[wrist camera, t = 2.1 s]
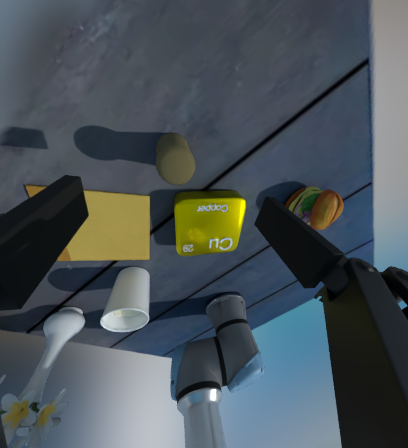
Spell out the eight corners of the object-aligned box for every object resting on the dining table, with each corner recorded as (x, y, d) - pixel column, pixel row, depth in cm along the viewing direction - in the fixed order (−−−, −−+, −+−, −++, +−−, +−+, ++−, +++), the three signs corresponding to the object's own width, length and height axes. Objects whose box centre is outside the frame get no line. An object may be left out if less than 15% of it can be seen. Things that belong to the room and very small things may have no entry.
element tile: (241, 189, 36) (250, 198, 32) (231, 240, 45) (237, 253, 41) (173, 191, 33) (174, 201, 29) (176, 245, 42) (177, 259, 38)
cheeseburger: (275, 197, 39) (315, 212, 31) (308, 174, 40) (355, 182, 32) (282, 226, 45) (316, 245, 37) (310, 205, 46) (350, 219, 38)
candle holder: (128, 291, 48) (118, 336, 38) (106, 272, 42) (88, 319, 33) (158, 280, 48) (156, 322, 38) (141, 259, 42) (133, 303, 32)
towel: (149, 258, 42) (149, 259, 42) (58, 259, 37) (56, 260, 37) (149, 195, 33) (149, 196, 32) (27, 184, 28) (24, 185, 27)
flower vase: (51, 288, 42) (-56, 453, 22) (109, 313, 52) (74, 439, 32) (17, 310, 44) (-111, 479, 24) (80, 329, 54) (29, 457, 34)
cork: (196, 152, 30) (209, 169, 21) (174, 175, 32) (177, 199, 23) (172, 123, 27) (175, 129, 18) (148, 151, 28) (140, 168, 19)
